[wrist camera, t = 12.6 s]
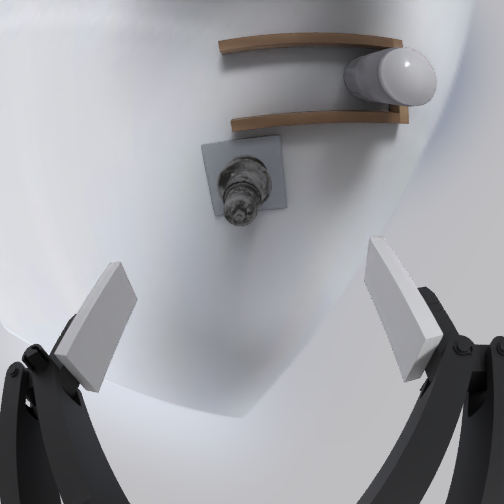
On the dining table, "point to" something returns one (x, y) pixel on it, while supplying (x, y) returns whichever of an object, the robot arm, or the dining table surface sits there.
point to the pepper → (392, 77)
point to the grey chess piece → (243, 188)
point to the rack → (311, 117)
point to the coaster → (257, 147)
